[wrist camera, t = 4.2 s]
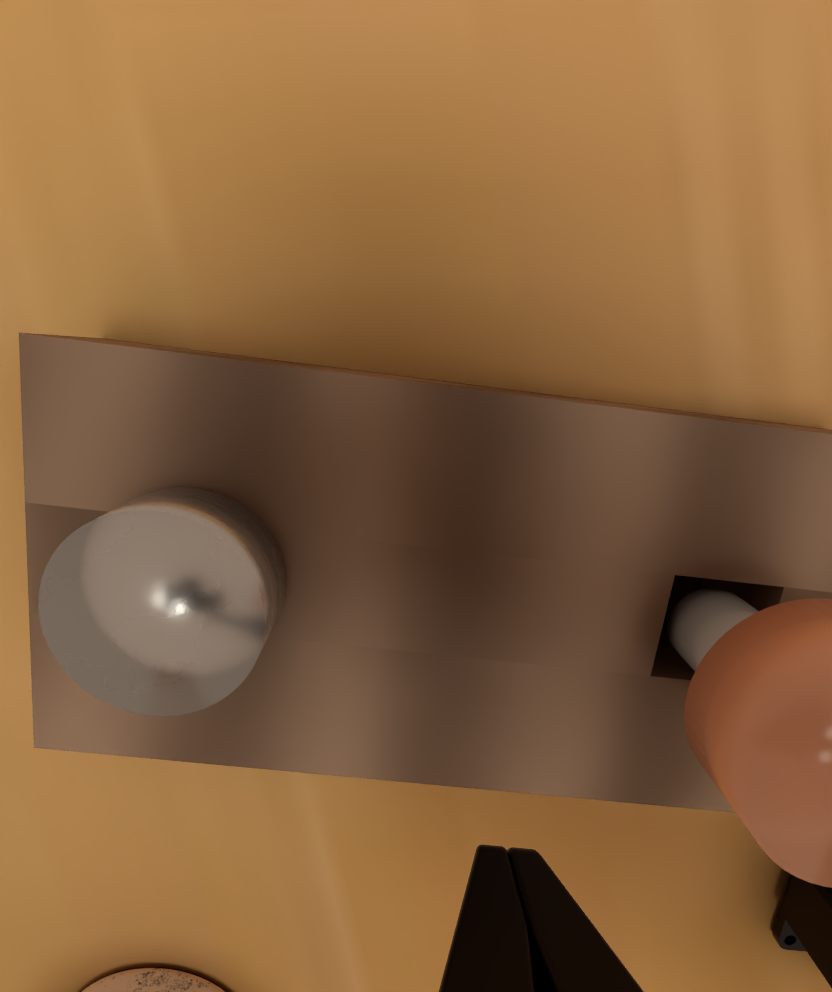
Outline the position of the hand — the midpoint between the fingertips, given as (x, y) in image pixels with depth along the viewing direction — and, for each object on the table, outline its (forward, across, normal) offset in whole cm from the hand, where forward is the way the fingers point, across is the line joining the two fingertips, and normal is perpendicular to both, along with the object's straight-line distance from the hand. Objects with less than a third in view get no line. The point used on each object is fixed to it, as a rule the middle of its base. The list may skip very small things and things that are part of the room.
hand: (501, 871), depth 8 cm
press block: (+12, 0, 0) cm, 12 cm away
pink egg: (+9, -7, 0) cm, 12 cm away
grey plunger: (+12, +8, -1) cm, 14 cm away
